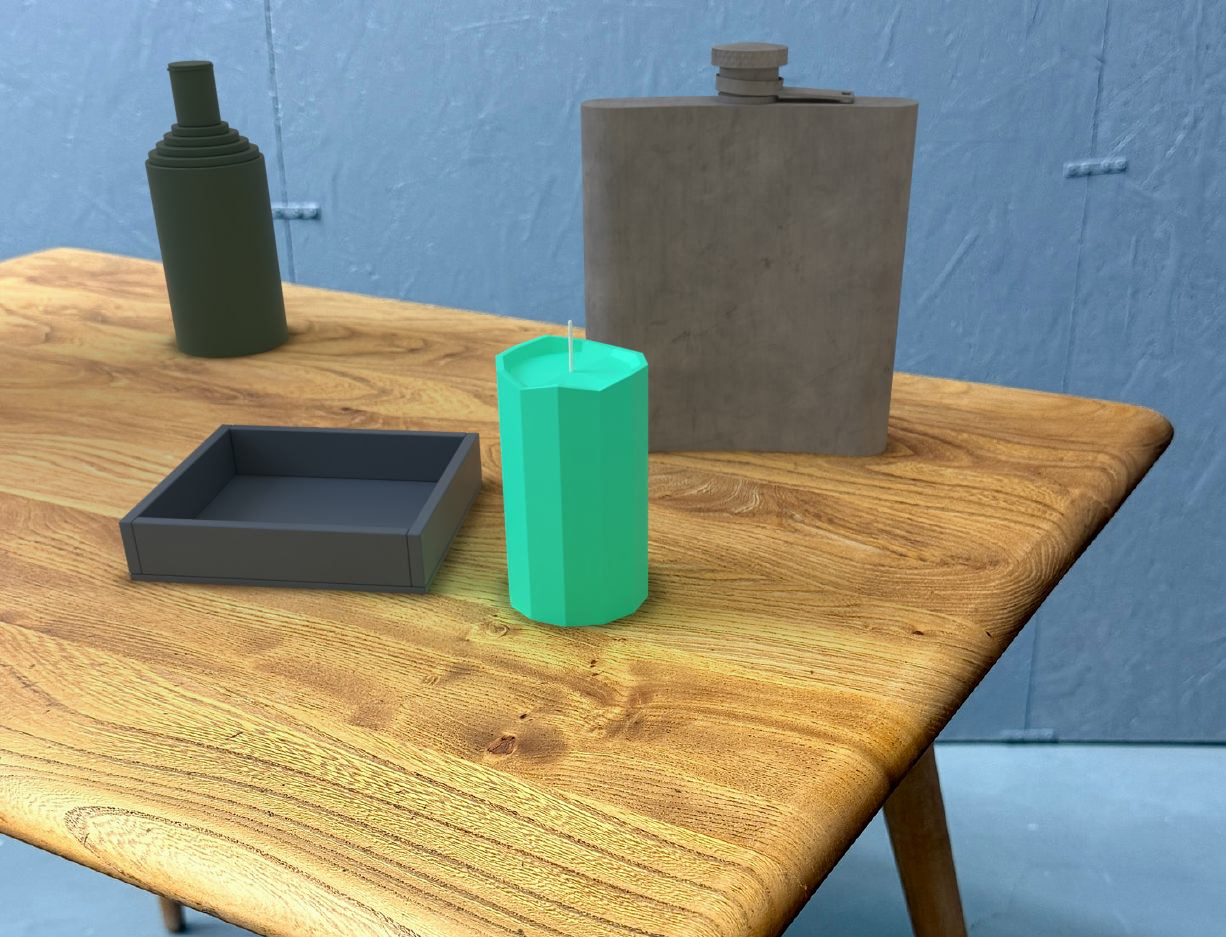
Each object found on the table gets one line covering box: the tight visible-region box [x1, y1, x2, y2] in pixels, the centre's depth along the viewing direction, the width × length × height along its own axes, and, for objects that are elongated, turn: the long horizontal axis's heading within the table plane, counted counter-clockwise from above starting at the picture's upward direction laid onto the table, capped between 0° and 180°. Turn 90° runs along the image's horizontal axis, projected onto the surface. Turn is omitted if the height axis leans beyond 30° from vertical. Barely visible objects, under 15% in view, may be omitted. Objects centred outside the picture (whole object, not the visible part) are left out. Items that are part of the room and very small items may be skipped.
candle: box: [494, 319, 649, 628], centre depth 53 cm, size 6×6×12 cm
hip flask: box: [580, 41, 920, 458], centre depth 66 cm, size 16×4×20 cm, turn 87°
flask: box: [144, 60, 290, 359], centre depth 83 cm, size 7×7×18 cm
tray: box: [118, 423, 483, 596], centre depth 61 cm, size 13×12×3 cm
